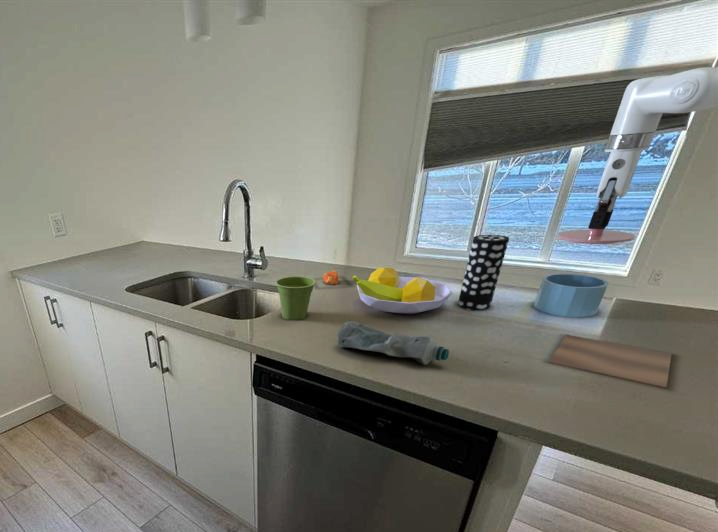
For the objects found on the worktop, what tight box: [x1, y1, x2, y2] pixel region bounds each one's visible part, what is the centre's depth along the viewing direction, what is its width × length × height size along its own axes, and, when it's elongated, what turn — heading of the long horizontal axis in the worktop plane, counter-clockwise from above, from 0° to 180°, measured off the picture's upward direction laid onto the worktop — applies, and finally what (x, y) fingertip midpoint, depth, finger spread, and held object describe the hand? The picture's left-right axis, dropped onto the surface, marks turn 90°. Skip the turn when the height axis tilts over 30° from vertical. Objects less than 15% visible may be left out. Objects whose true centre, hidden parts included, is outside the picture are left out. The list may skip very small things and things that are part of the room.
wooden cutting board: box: [548, 334, 673, 389], centre depth 88 cm, size 18×18×1 cm
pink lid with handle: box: [556, 205, 636, 245], centre depth 101 cm, size 15×15×8 cm
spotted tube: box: [457, 234, 510, 312], centre depth 116 cm, size 8×8×20 cm
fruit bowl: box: [352, 266, 454, 315], centre depth 123 cm, size 28×27×11 cm
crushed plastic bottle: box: [337, 320, 450, 366], centre depth 97 cm, size 13×7×25 cm
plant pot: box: [275, 275, 317, 321], centre depth 123 cm, size 12×12×11 cm
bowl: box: [533, 273, 610, 318], centre depth 111 cm, size 14×14×8 cm
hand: (597, 226), depth 102 cm, fingers closed on pink lid with handle, 2 cm apart
